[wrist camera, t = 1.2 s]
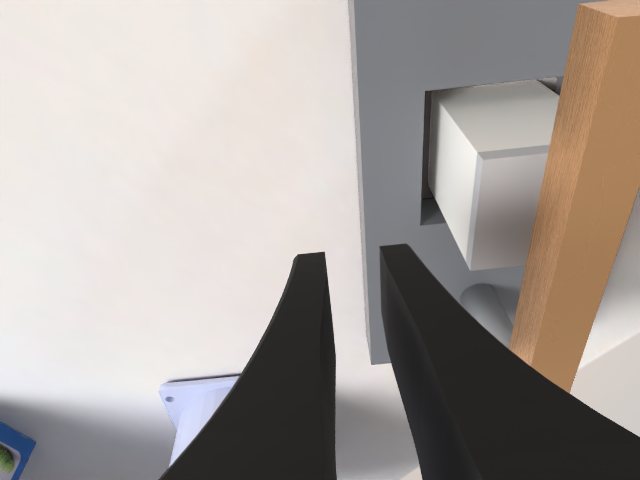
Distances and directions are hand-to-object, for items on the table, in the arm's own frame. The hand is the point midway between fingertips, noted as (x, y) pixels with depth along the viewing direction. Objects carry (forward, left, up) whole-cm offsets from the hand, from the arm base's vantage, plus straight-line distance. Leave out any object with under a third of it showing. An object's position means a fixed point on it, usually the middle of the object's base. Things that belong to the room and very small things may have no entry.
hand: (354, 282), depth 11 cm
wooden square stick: (-2, -6, -2) cm, 7 cm away
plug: (-1, -6, -10) cm, 11 cm away
